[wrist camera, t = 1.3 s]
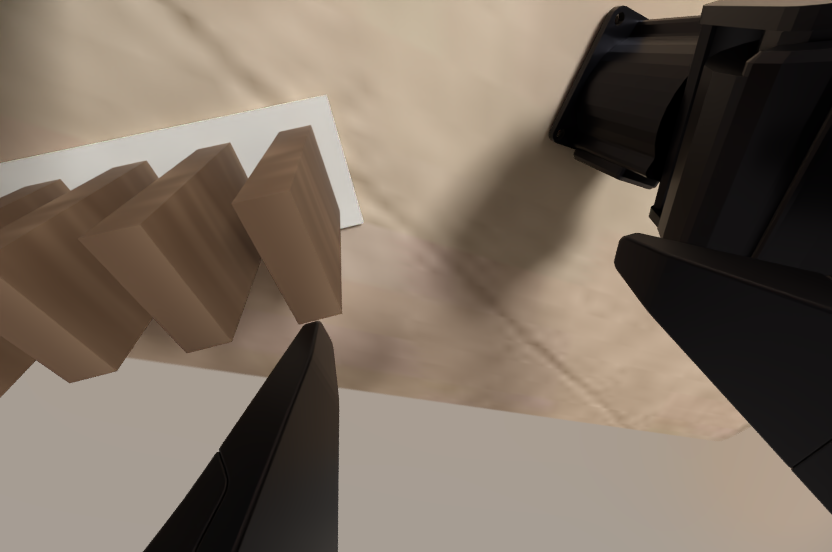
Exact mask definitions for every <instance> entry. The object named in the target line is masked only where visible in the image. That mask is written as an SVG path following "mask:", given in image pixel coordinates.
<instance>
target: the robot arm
mask: <svg viewBox="0 0 832 552" xmlns="http://www.w3.org/2000/svg"><path fill="white" fill-rule="evenodd" d="M617 15H619V19H618V22H617V23H616V24H615V18H616V16H617ZM559 130H561V133H560V135H559V136H558V137H557V133H558V131H559ZM549 138H550V140H551V141H553V142H555V143H558V144H561V145H564V146H567V147H570V148H573V149H576V150H575V152H574V154H573V155H574V158H575V159H576V160H578V161H580V162H583V163H585V164H587V165H589V166H591V167H593V168H595V169H597V170H599V171H601V172H603V173H606V174H608V175H610V176H612V177H614V178H616V179H618V180H621V181H624V182H628V183H631V184H634V185H637V186H640V187H643V188H646V189H652V188H655V187H656V186H657V185H658V183H659V182H660V184H659V188H658V192H657V196H656V199H655V203H654V205H653V206H651V209H650V213H649V218H650V219H651V220H652V221H653V223H654V224H655V225H656V226H657V227H658V228H657V229H658V232H659V235H660V237H661V238H659V237H655V236H650V235H646V234H641V233H634V234H630V235H627V236H623V237H622V238H621V239H620V240H619V244H618V248H617V251H616V255H615V259H614V264H615V267H616V269H617V271H618V272H619V273H620V275H621V276H622V278H623V279H624V280H625V282H626V283H627V284H628V286H629V287H630V288H631V290H632V291H633V292H634V294H635V295H636V297H637V298H638V299H639V301H640V302H641V303H642V305H643V306H644V307H645V309H646V310H647V311H648V312H649V313H650V315H651V316H652V317H653V318H654V319H655V320H656V321H657V322H658V324H659V325H660V326H661V327H662V328H663V329H664V330H665V331H666V332H667V333H668V335H669V336H670V337H671V338H672V339H673V340H674V341H675V342H676V343H677V344H678V346H679V347H680V348H681V349H682V350H683V351H684V352H685V353H686V354H687V355H688V357H689V358H690V359H691V360H692V361H693V362H694V363H695V364H696V365H697V366H698V368H699V369H700V370H701V371H702V372H703V373H704V374H705V375H706V376H707V377H708V379H709V380H710V381H711V382H712V383H713V384H714V385H715V386H716V387H717V388H718V390H719V391H720V392H721V393H722V394H723V395H724V396H725V397H726V398H727V399H728V401H729V402H730V403H731V404H732V405H733V406H734V407H735V408H736V409H737V410H738V412H739V413H740V414H741V415H742V416H743V417H744V418H745V419H746V420H747V421H748V423H749V424H750V425H751V426H752V427H753V428H754V429H755V430H756V431H757V432H758V433H759V435H760V436H761V437H762V438H763V439H764V440H765V441H766V442H767V443H768V444H769V446H770V447H771V448H772V449H773V450H774V451H775V452H776V453H777V454H778V455H779V457H780V458H781V459H782V460H783V461H784V462H785V463H786V464H787V465H788V466H789V467H790V468H791V470H792V471H793V472H794V473H795V475H796V476H797V477H798V478H799V479H800V480H801V481H802V482H803V483H804V485H805V486H806V487H807V488H808V489H809V490H810V491H811V492H812V493H813V494H814V495H815V497H816V498H817V499H818V500H819V501H820V502H821V503H822V504H823V505H824V507H826V509H827V510H828V511H829V512H830V513H831V514H832V0H718V1H715V2H712V3H708V4H705V5H703V9H702V13H701V15H700V16H688V17H676V18H663V19H651V20H649V19H647V18H646V17H644V16H642V15H640V14H639V13H637V12H635V11H634V10H632V9H630V8H628V7H627V6H617V7H614V8H613V9H611V10H610V11H609V13H608V14H607V16H606V18H605V20H604V22H603V24H602V26H601V28H600V30H599V32H598V34H597V36H596V38H595V40H594V42H593V44H592V47H591V49H590V51H589V53H588V55H587V57H586V59H585V61H584V63H583V65H582V67H581V69H580V71H579V73H578V75H577V77H576V79H575V81H574V83H573V85H572V87H571V89H570V91H569V93H568V95H567V97H566V99H565V101H564V103H563V105H562V107H561V109H560V111H559V114H558V116H557V118H556V120H555V122H554V124H553V126H552V128H551V130H550V133H549ZM338 466H339V395H338V385H337V376H336V367H335V358H334V349H333V344H332V341H331V339H330V337H329V335H328V334H327V332H326V330H325V328H324V326H323V324H322V323H321V322H320V321H315V322H311V323H308V324H305V325H304V326H303V327H302V328H301V330H300V331H299V333H298V334H297V336H296V337H295V339H294V340H293V341H292V343H291V344H290V346H289V347H288V349H287V350H286V352H285V353H284V355H283V356H282V358H281V359H280V360H279V362H278V363H277V365H276V366H275V368H274V369H273V371H272V372H271V374H270V375H269V377H268V378H267V379H266V381H265V382H264V384H263V385H262V387H261V388H260V390H259V391H258V393H257V394H256V396H255V397H254V399H253V400H252V401H251V403H250V404H249V406H248V407H247V409H246V410H245V412H244V413H243V415H242V416H241V417H240V419H239V421H238V422H237V423H236V425H235V426H234V428H233V429H232V431H231V432H230V434H229V435H228V436H227V438H226V439H225V441H224V442H223V444H222V446H221V447H220V448H219V452H217V453H216V454H215V455H214V457H213V458H212V460H211V461H210V463H209V464H208V465H207V467H206V468H205V470H204V471H203V473H202V474H201V475H200V477H199V478H198V480H197V481H196V483H195V484H194V485H193V487H192V488H191V490H190V491H189V492H188V494H187V495H186V497H185V498H184V499H183V501H182V502H181V503H180V505H179V506H178V507H177V508H176V510H175V511H174V512H173V514H172V515H171V517H170V518H169V519H168V520H167V522H166V523H165V524H164V526H163V527H162V528H161V530H160V531H159V532H158V533H157V535H156V536H155V537H154V538H153V540H152V541H151V542H150V544H149V545H148V546H147V547H146V549H145V550H144V551H143V552H338V472H339V471H338V469H339V467H338Z"/></svg>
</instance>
